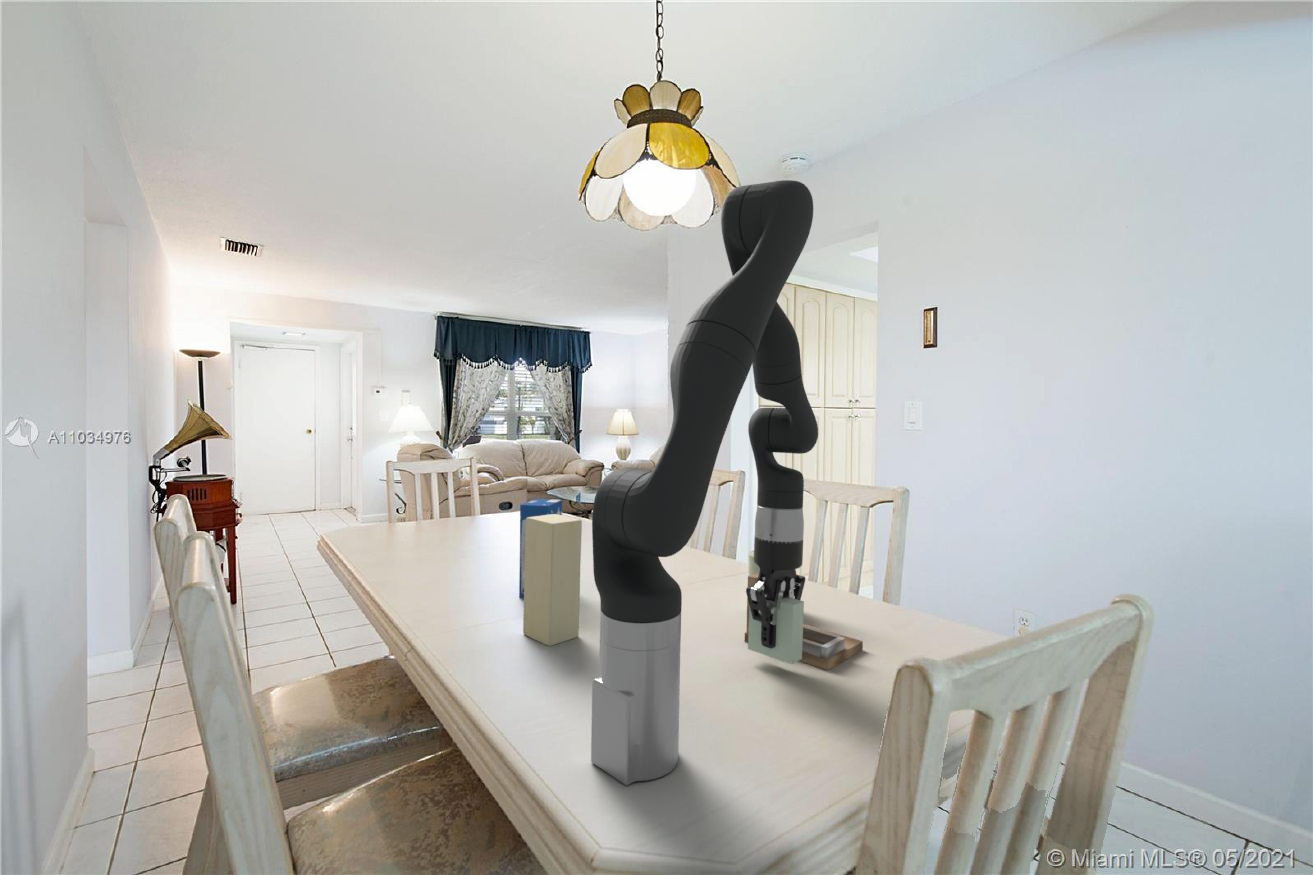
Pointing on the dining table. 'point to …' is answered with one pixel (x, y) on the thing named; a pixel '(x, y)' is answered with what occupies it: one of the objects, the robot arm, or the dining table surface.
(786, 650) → the door panel
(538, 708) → the dining table surface
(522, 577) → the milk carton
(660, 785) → the dining table surface
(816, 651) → the track base
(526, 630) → the tall beige block
